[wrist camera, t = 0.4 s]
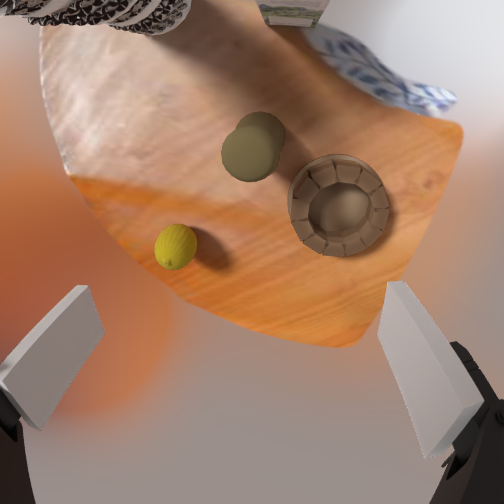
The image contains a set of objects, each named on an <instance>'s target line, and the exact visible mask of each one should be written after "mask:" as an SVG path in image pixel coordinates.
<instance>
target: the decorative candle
mask: <svg viewBox="0 0 504 504" xmlns="http://www.w3.org/2000/svg"><path fill="white" fill-rule="evenodd" d="M190 8H191V0H0V18H1V17H3V16H6V15H18V16H19V17H23V18H27V17H28V22H29V23H30V24H32V25H34V24H36V23H37V22H38V23H39V24H40V25H41V26H46V25H48V24H51V25H53V26H57V25H59V24H60V23H64V24H69V25H76V24H77V25H79V26H83V25H86V24H90V25H101V24H108V25H109V26H110V27H114V28H115V29H117V30H120V29H122V30H124V31H128V30H129V31H130V32H132V33H138V34H146V35H151V36H153V35H160V34H165V33H166V32H168V31H170V30H172V29H174V28H176V27H177V26H178V25H179V24H180V23H181V22H182V21H183V20H184V19H185V18H186V16H187V14H188V12H189V10H190ZM48 14H50V15H51V16H52V17H50V16H49V15H48Z"/></svg>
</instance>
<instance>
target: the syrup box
mask: <svg viewBox="0 0 504 504" xmlns="http://www.w3.org/2000/svg"><path fill="white" fill-rule="evenodd" d="M329 1H330V0H256V3H257V5H258V7H259V10H260V12H261V14H262V17H263V19H264V22H265V24H266V25H286V26H301V27H312V28H314V27H315V26H316V24H317V22H318V21H319V19H320V17H321V15H322V13H323V12H324V10H325V8H326V7H327V5H328V3H329Z"/></svg>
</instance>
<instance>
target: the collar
mask: <svg viewBox="0 0 504 504" xmlns="http://www.w3.org/2000/svg"><path fill="white" fill-rule="evenodd" d="M388 207H390V206H389V203H388V199H387V196H386V193H385V190H384V187H383V184H382V182H381V180H380V178H379V176H378V175H377V174H376V172H375V171H374V170H373V169H372V168H371V167H370V166H369V165H368V164H366V163H365V162H363V161H362V160H360V159H358V158H355V157H352V156H349V155H343V154H333V155H326V156H323V157H320V158H317V159H315V160H313V161H311V162H310V163H308V164H307V165H305V166H304V167H303V168H302V169H301V170H300V171H299V172H298V174H297V175H296V176H295V178H294V180H293V181H292V184H291V186H290V189H289V193H288V212H289V215H290V218H291V223H292V225H293V227H294V229H295V231H296V233H297V235H298V237H299V239H300V241H303V244H304V245H306V246H308V247H309V248H311V249H312V250H314V251H316V252H317V253H319V254H321V253H322V252H323V255H326V256H338V257H344V254H346V256H350V255H352V254H355V253H358V252H360V251H363V250H365V249H366V246H368V247H370V246H371V245H372V244H373V243H374V242H375V240H376V239H377V238H378V237H379V236H380V235H381V234H382V233H383V231H382V229H384V230H385V226H386V222H387V218H388V214H389V210H390V209H389V208H388ZM365 245H366V246H365Z"/></svg>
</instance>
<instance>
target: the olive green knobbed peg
mask: <svg viewBox="0 0 504 504" xmlns="http://www.w3.org/2000/svg"><path fill="white" fill-rule="evenodd" d="M284 141H285V130H284V128H283V126H282V123H281V122H280V121H279V120H278V119H277V118H276V117H274V116H273V115H271V114H269V113H265V112H253V113H251V114H248V115H246V116H245V117H244V118H242V119H241V120H240V122H239V123H238V125H237V127H236V130H234V131H233V132H232V133H231V134H229V135H228V136H227V138H226V139H225V141H224V143H223V146H222V151H221V155H222V162H223V164H224V166H225V168H226V170H227V171H228V172H229V173H230V174H231V175H232V176H233V177H235V178H236V179H238V180H241V181H245V182H257V181H259V180H262V179H265V178H266V177H267V176H269V175H270V174H271V173H272V172H273V171H274V170H275V168H276V167H277V164H278V161H279V151H280V150H281V148H282V147H283V145H284Z"/></svg>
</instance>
